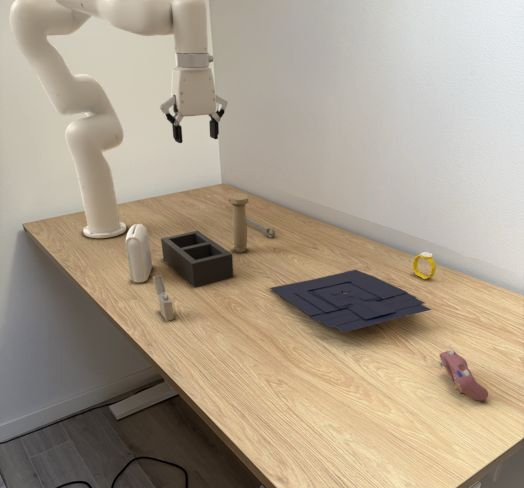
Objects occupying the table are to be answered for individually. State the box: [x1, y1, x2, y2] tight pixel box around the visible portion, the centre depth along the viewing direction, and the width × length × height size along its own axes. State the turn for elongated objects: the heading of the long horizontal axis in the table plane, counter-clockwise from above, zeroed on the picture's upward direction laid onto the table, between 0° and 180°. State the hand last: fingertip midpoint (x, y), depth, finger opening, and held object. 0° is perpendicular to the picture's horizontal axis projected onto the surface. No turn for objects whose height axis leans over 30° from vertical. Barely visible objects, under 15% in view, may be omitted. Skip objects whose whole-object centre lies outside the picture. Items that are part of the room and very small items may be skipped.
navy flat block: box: [269, 269, 432, 333], centre depth 112 cm, size 24×30×4 cm
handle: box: [228, 192, 250, 253], centre depth 136 cm, size 5×6×15 cm
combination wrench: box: [246, 216, 276, 238], centre depth 154 cm, size 4×1×20 cm
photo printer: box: [125, 223, 153, 284], centre depth 125 cm, size 10×4×12 cm, turn 2°
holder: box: [160, 230, 234, 288], centre depth 130 cm, size 20×11×6 cm, turn 31°
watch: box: [412, 251, 437, 280], centre depth 123 cm, size 6×3×6 cm, turn 33°
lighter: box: [152, 274, 175, 322], centre depth 109 cm, size 7×2×8 cm, turn 26°
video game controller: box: [438, 349, 489, 402], centre depth 86 cm, size 10×5×7 cm, turn 5°
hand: (196, 140), depth 128 cm, fingers open, 9 cm apart
